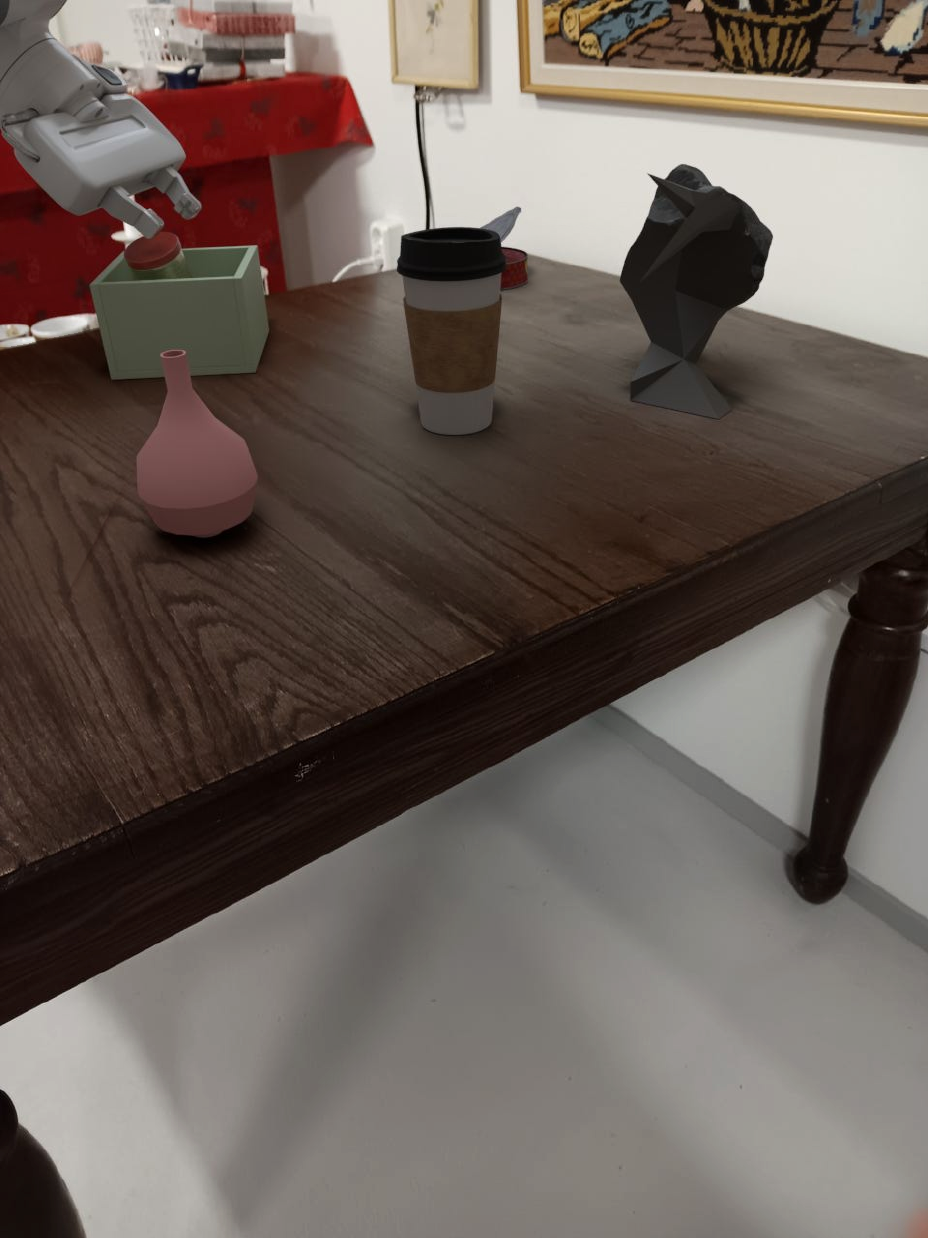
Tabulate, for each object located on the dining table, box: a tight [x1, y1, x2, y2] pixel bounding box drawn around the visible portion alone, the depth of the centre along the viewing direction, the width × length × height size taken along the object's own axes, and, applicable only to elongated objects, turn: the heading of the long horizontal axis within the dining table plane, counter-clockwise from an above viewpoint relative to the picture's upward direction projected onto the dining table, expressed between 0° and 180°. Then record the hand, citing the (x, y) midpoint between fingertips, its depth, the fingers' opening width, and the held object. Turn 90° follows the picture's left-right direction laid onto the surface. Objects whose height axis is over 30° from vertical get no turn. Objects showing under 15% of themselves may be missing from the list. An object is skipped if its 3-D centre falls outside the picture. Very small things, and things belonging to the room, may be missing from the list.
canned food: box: [480, 206, 529, 291], centre depth 117 cm, size 11×10×10 cm
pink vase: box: [135, 350, 259, 538], centre depth 61 cm, size 8×8×12 cm
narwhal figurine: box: [619, 163, 774, 420], centre depth 82 cm, size 14×15×18 cm
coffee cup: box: [396, 226, 507, 436], centre depth 76 cm, size 8×8×15 cm
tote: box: [89, 244, 270, 381], centre depth 94 cm, size 14×14×9 cm
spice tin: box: [123, 231, 193, 281], centre depth 92 cm, size 5×5×10 cm
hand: (177, 222), depth 90 cm, fingers open, 7 cm apart
